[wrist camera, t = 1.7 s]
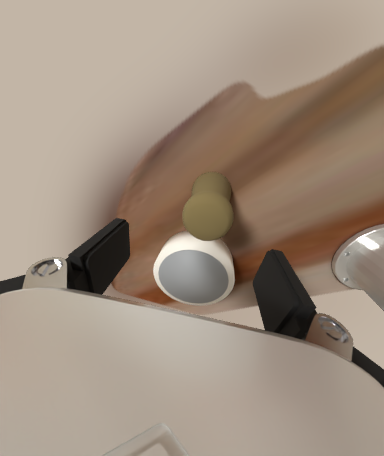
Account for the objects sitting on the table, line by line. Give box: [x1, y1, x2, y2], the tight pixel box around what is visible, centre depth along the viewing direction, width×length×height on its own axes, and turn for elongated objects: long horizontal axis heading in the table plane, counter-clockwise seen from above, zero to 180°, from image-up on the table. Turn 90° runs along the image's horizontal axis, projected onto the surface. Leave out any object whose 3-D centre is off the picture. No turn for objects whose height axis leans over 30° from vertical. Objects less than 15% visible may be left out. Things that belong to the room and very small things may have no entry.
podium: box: [153, 231, 235, 306], centre depth 29 cm, size 14×14×5 cm
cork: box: [183, 172, 234, 241], centre depth 20 cm, size 6×6×11 cm
